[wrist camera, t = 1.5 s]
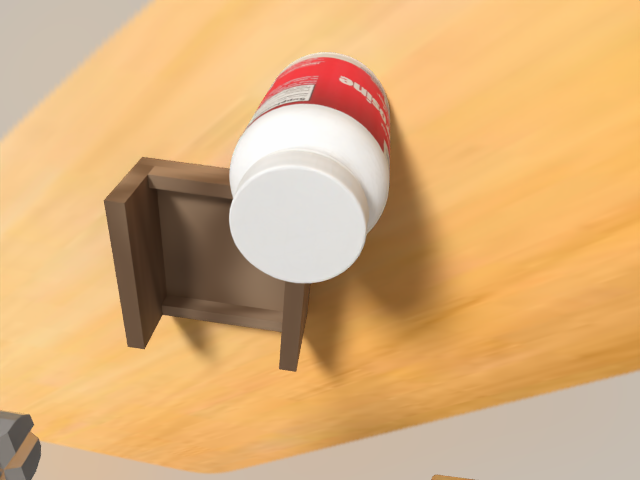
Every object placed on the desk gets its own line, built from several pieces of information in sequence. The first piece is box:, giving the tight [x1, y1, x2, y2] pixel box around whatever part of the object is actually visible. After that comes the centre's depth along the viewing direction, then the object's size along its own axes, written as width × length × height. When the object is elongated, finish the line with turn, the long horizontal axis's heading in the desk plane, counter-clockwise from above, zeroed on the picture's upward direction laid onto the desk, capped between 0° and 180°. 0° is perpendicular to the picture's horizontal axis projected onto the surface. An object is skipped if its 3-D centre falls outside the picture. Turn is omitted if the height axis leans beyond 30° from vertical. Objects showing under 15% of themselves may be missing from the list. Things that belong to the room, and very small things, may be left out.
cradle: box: [104, 157, 310, 372], centre depth 30 cm, size 10×10×5 cm
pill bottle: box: [229, 52, 390, 283], centre depth 22 cm, size 6×6×11 cm
